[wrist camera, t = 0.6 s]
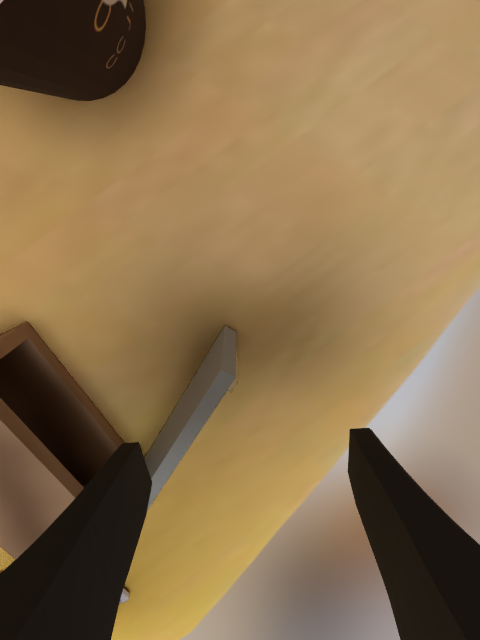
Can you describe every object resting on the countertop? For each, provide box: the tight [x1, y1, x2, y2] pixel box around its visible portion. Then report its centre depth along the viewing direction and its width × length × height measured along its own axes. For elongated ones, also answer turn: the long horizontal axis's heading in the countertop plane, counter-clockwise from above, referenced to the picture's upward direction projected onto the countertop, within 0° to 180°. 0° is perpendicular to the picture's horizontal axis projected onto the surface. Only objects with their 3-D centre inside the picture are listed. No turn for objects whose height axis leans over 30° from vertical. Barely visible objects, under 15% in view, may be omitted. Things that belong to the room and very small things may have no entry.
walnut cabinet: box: [0, 322, 124, 559], centre depth 20 cm, size 6×13×6 cm, turn 25°
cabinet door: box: [144, 326, 238, 510], centre depth 20 cm, size 2×13×5 cm, turn 150°
